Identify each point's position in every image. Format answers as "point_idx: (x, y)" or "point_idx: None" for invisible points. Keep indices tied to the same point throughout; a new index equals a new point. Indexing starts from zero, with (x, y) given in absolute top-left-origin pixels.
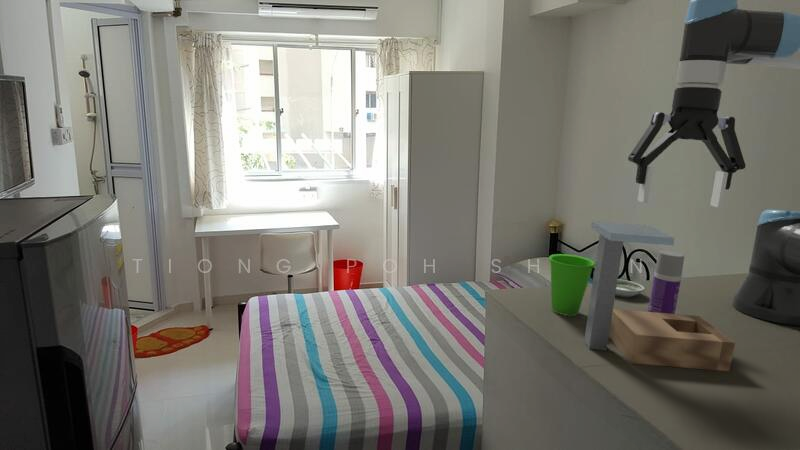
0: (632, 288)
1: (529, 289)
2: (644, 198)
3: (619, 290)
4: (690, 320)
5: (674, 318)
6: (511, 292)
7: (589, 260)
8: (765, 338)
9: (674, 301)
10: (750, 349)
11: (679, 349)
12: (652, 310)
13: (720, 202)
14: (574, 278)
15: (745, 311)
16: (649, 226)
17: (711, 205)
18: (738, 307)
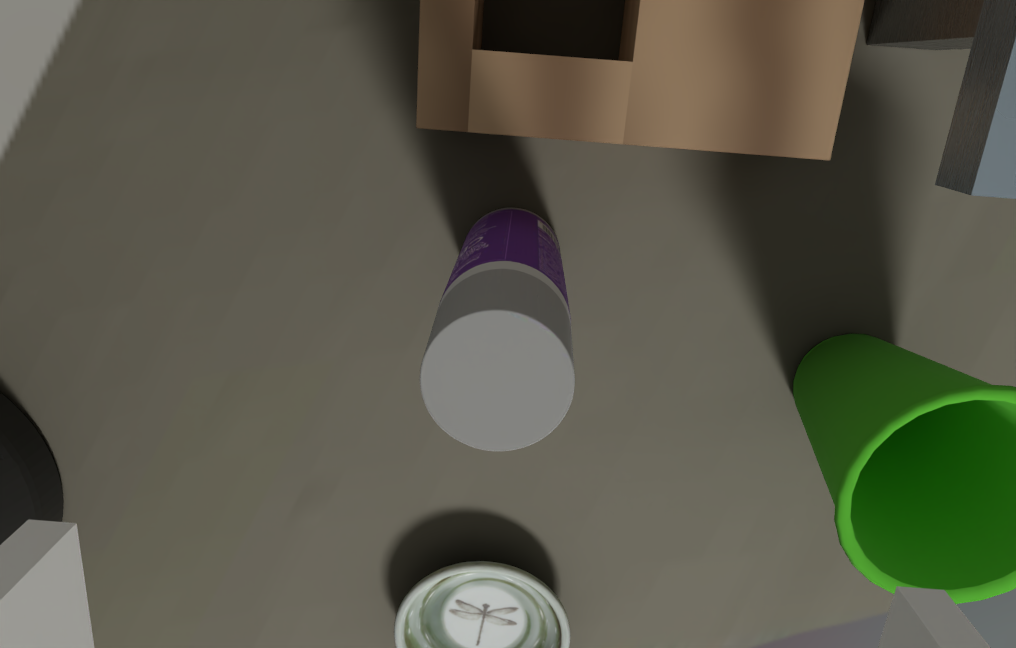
0: (427, 639)
1: (873, 604)
2: (964, 623)
3: (526, 574)
4: (494, 55)
5: (565, 71)
6: None
7: (847, 522)
8: (95, 198)
9: (482, 240)
10: (223, 67)
11: None
12: (560, 259)
13: (13, 560)
14: (958, 374)
15: (44, 456)
16: (1009, 137)
17: (91, 638)
18: (55, 491)
